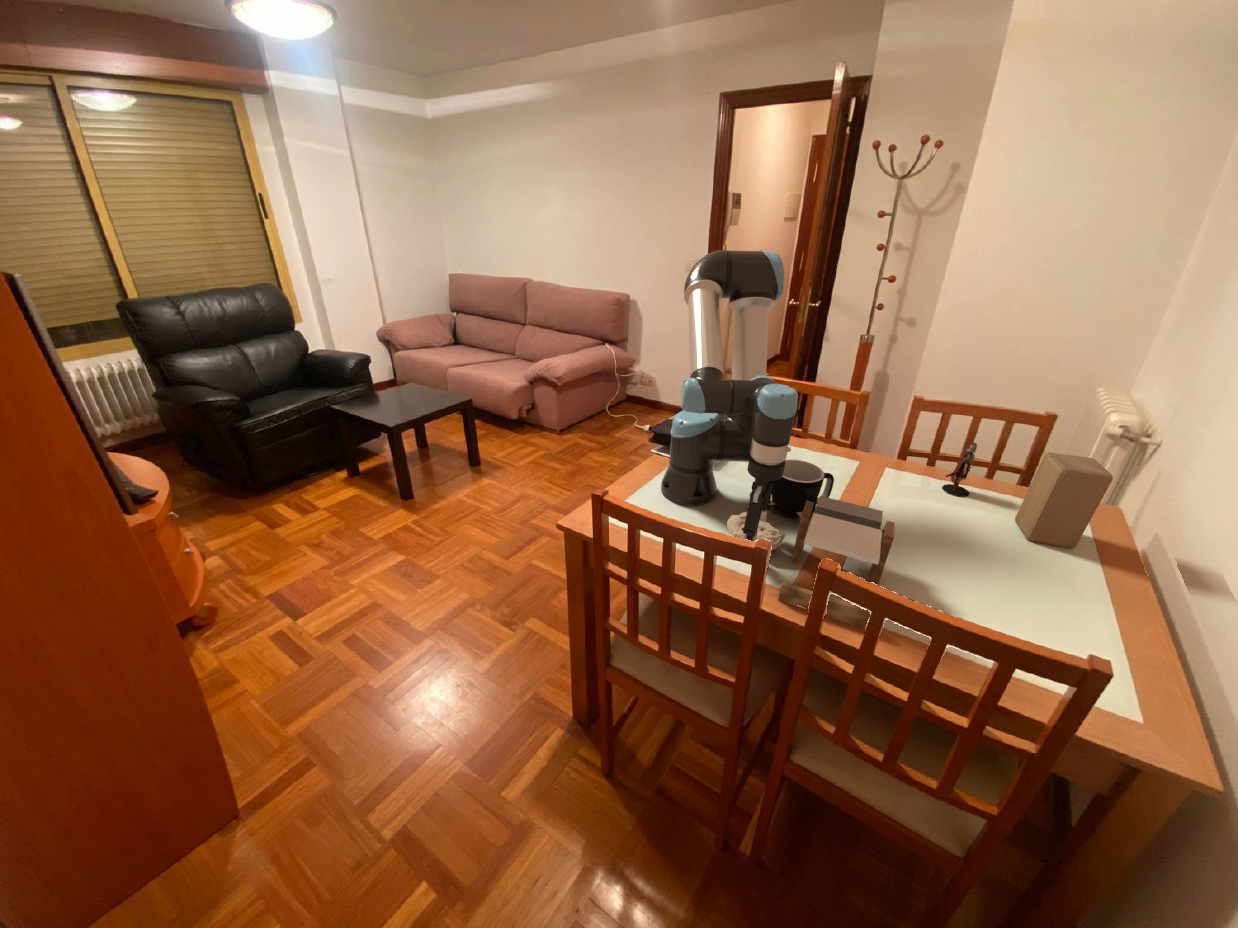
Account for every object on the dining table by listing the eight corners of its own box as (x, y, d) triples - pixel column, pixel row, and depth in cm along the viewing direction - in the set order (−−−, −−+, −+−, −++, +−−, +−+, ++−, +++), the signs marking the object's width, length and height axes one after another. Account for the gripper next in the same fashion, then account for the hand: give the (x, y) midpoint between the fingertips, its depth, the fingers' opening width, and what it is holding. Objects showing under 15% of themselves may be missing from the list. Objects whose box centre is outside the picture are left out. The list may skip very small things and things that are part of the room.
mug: (778, 488, 141) (786, 449, 135) (834, 510, 131) (844, 470, 125) (747, 509, 131) (753, 469, 125) (804, 536, 121) (814, 493, 115)
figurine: (969, 499, 137) (989, 450, 130) (939, 492, 140) (957, 444, 133) (968, 488, 142) (987, 441, 135) (939, 482, 145) (956, 435, 138)
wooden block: (1058, 527, 125) (1095, 456, 116) (1076, 550, 117) (1117, 476, 108) (1012, 519, 128) (1044, 450, 119) (1026, 541, 120) (1061, 468, 110)
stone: (750, 569, 114) (775, 548, 107) (715, 526, 119) (737, 503, 112) (768, 556, 119) (794, 535, 112) (735, 515, 124) (757, 493, 116)
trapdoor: (802, 551, 100) (804, 539, 98) (816, 506, 115) (819, 495, 113) (875, 573, 94) (879, 560, 93) (880, 522, 109) (883, 511, 108)
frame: (778, 600, 101) (789, 548, 95) (795, 547, 116) (806, 500, 110) (872, 631, 94) (891, 578, 88) (878, 571, 109) (894, 522, 103)
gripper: (774, 484, 96) (757, 574, 107) (795, 442, 113) (778, 524, 124) (736, 474, 99) (723, 563, 110) (761, 435, 116) (748, 516, 127)
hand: (752, 543), depth 117 cm, fingers open, 8 cm apart
